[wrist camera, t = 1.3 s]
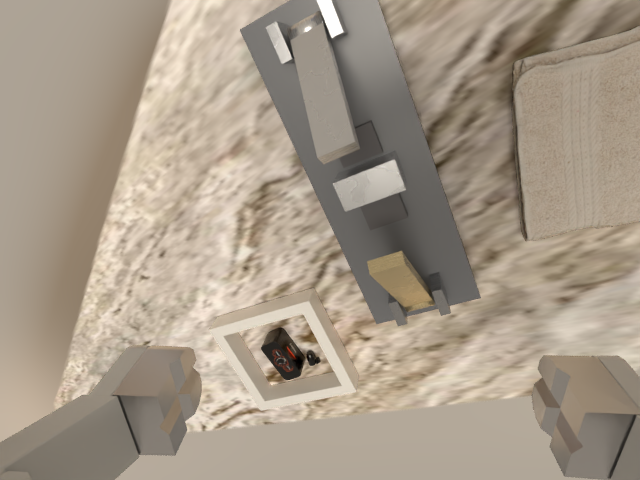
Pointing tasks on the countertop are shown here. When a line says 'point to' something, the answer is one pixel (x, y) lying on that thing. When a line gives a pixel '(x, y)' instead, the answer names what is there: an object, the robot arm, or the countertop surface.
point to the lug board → (369, 154)
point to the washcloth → (578, 136)
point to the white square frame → (292, 391)
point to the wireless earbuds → (285, 354)
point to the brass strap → (401, 281)
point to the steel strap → (322, 89)
